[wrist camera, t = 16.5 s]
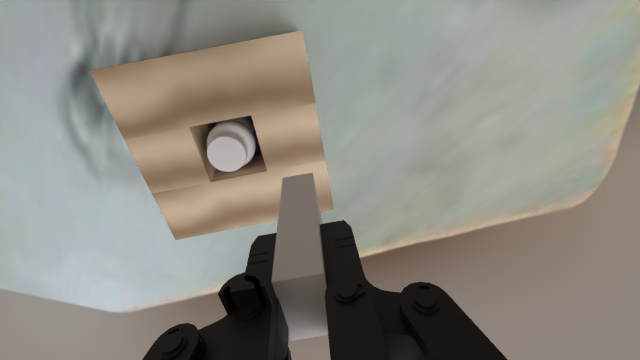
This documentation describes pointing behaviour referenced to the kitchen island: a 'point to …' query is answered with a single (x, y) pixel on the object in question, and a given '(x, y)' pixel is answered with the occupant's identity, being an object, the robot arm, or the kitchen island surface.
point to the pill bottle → (232, 143)
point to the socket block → (201, 117)
